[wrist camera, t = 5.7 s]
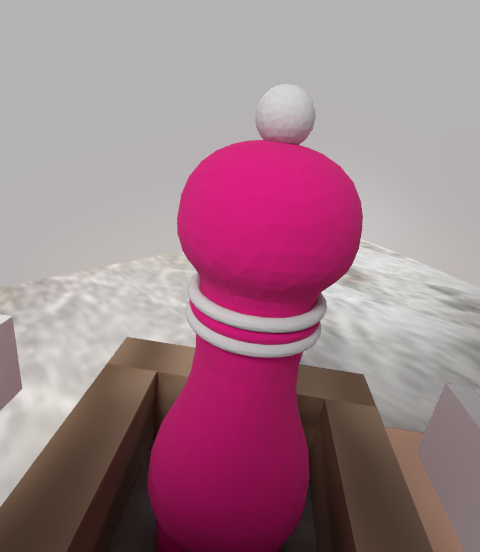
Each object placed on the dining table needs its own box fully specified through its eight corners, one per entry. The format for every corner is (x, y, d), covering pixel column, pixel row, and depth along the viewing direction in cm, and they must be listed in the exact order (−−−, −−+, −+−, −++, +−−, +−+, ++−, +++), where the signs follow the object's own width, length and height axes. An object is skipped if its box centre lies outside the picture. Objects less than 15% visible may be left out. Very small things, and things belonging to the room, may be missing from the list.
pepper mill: (121, 508, 18) (121, 63, 10) (233, 446, 22) (288, 103, 15) (194, 673, 13) (294, 31, 5) (319, 551, 17) (471, 107, 10)
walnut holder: (345, 431, 25) (363, 374, 23) (457, 874, 10) (536, 813, 8) (126, 395, 25) (126, 336, 23) (-85, 763, 10) (-130, 682, 8)
